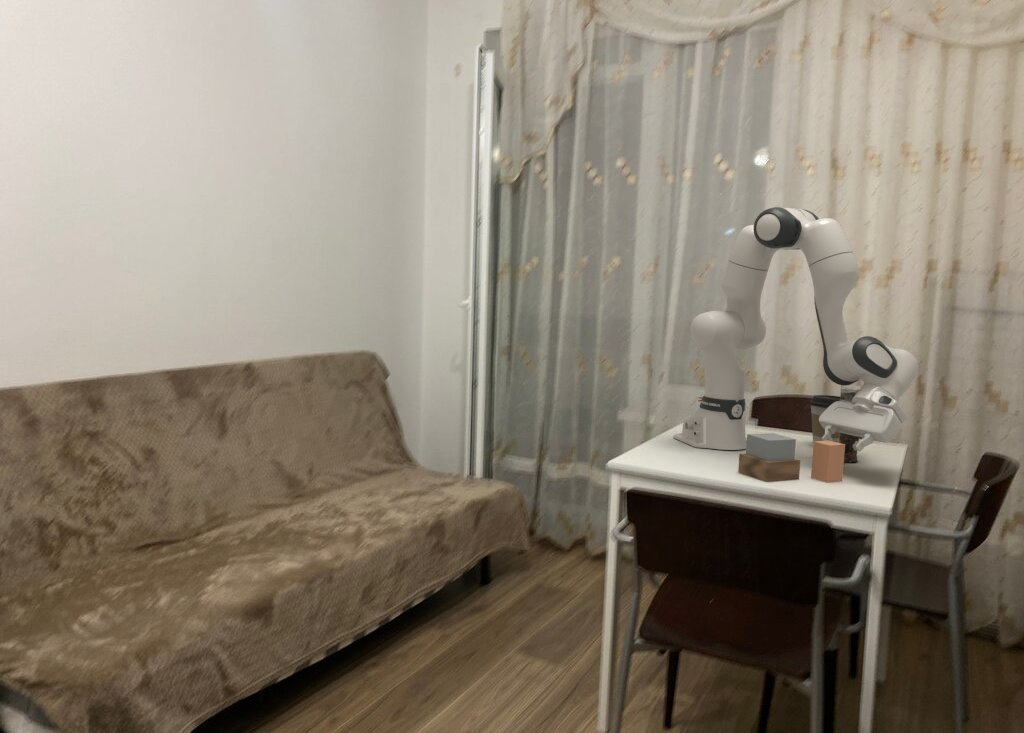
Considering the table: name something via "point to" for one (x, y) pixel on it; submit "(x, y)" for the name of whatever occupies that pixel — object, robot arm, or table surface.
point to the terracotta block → (827, 461)
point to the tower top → (770, 447)
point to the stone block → (847, 439)
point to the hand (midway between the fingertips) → (840, 445)
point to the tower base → (769, 468)
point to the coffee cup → (817, 409)
